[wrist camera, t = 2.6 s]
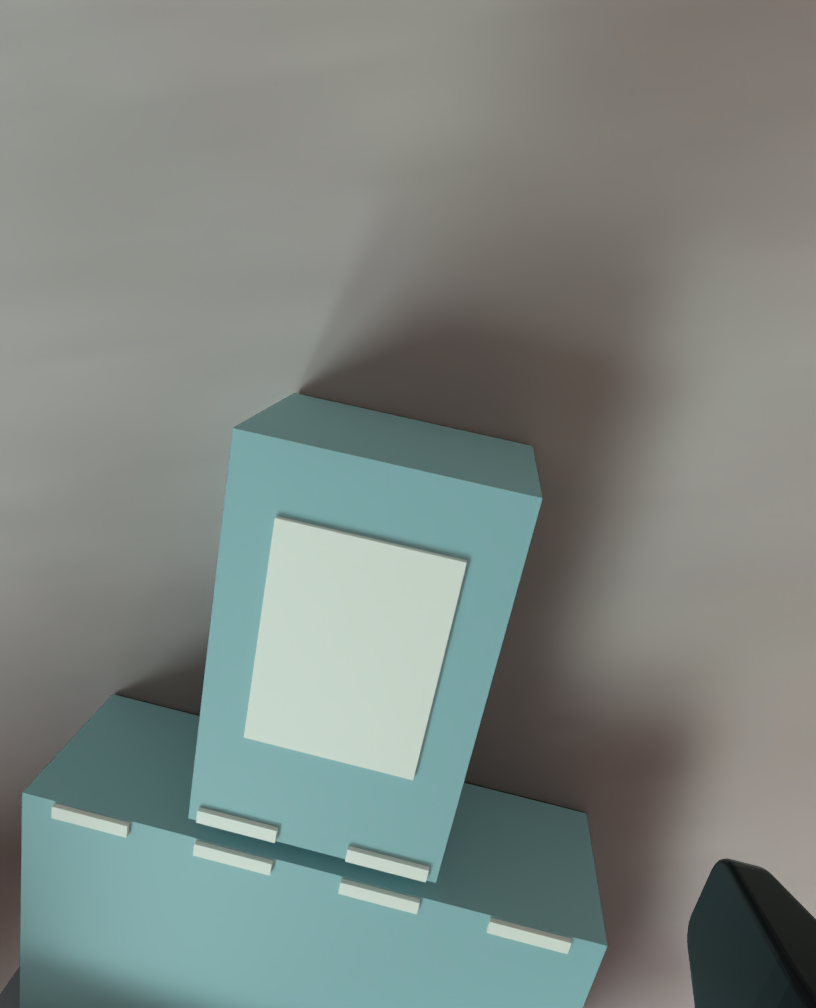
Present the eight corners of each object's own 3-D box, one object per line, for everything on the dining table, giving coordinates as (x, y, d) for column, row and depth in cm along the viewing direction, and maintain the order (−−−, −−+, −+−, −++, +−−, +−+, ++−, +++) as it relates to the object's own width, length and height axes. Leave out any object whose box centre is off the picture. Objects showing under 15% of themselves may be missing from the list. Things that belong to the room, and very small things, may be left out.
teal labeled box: (448, 762, 17) (435, 886, 13) (248, 712, 17) (186, 822, 14) (532, 446, 14) (542, 500, 11) (294, 393, 14) (230, 429, 11)
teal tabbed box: (525, 1046, 19) (534, 1308, 14) (78, 924, 20) (-58, 1134, 15) (610, 819, 17) (657, 1047, 12) (90, 688, 17) (-71, 850, 12)
